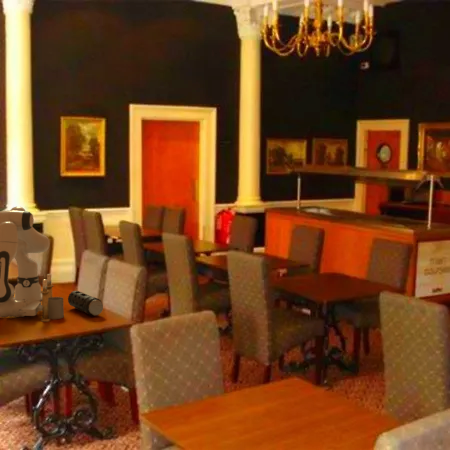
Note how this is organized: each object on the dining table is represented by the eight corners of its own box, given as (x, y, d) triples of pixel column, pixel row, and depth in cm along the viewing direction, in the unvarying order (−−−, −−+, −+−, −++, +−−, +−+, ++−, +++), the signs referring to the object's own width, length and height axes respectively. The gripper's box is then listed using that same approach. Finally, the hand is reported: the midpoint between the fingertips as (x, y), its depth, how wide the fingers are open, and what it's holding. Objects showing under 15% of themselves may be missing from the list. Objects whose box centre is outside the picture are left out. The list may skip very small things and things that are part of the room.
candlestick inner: (46, 313, 379) (45, 273, 377) (54, 312, 380) (53, 273, 377) (45, 314, 375) (44, 275, 373) (53, 314, 375) (52, 275, 373)
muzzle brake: (83, 307, 395) (83, 289, 393) (104, 317, 372) (104, 297, 371) (67, 309, 389) (67, 291, 388) (87, 319, 366) (87, 299, 365)
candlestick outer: (41, 320, 363) (41, 279, 361) (50, 319, 364) (49, 278, 362) (40, 322, 359) (39, 280, 357) (49, 321, 359) (48, 280, 357)
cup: (66, 316, 371) (66, 298, 370) (55, 319, 364) (55, 300, 363) (55, 314, 375) (55, 296, 374) (43, 317, 368) (43, 299, 367)
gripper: (16, 306, 356) (44, 306, 358) (23, 298, 377) (49, 298, 378) (16, 319, 357) (44, 318, 359) (23, 310, 377) (50, 309, 379)
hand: (47, 308), depth 369 cm, fingers closed, pressing on cup
